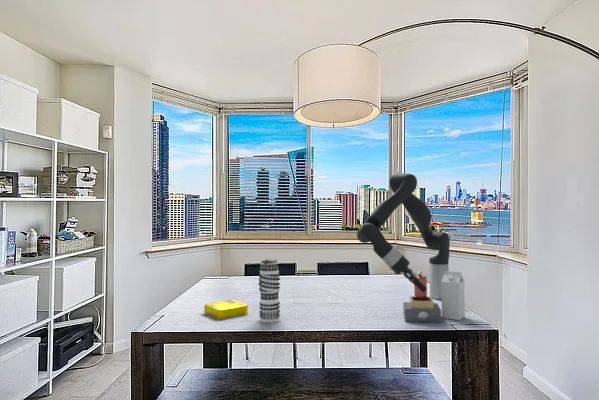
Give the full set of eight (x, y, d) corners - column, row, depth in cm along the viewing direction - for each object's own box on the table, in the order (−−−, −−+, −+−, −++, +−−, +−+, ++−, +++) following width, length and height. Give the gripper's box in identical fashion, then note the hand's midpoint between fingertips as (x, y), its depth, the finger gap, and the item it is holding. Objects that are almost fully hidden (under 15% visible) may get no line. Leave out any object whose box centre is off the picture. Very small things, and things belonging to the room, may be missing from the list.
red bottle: (414, 304, 172) (413, 271, 173) (426, 304, 171) (425, 271, 172) (415, 307, 167) (414, 272, 168) (427, 307, 166) (427, 273, 167)
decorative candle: (260, 323, 164) (260, 261, 165) (256, 317, 173) (256, 258, 174) (283, 321, 167) (282, 260, 167) (277, 315, 176) (277, 257, 176)
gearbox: (403, 313, 176) (402, 295, 177) (437, 315, 174) (436, 296, 174) (405, 322, 163) (404, 302, 164) (441, 323, 161) (441, 303, 161)
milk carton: (447, 314, 175) (447, 269, 175) (465, 317, 170) (464, 271, 171) (441, 317, 169) (441, 271, 170) (459, 320, 165) (458, 273, 165)
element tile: (202, 313, 182) (202, 303, 182) (231, 308, 192) (231, 298, 192) (219, 320, 171) (218, 309, 171) (249, 314, 180) (249, 303, 180)
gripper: (402, 256, 164) (433, 285, 162) (400, 252, 178) (428, 279, 176) (389, 269, 165) (419, 298, 163) (388, 264, 179) (416, 291, 177)
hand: (424, 288), depth 169 cm, fingers open, 8 cm apart
